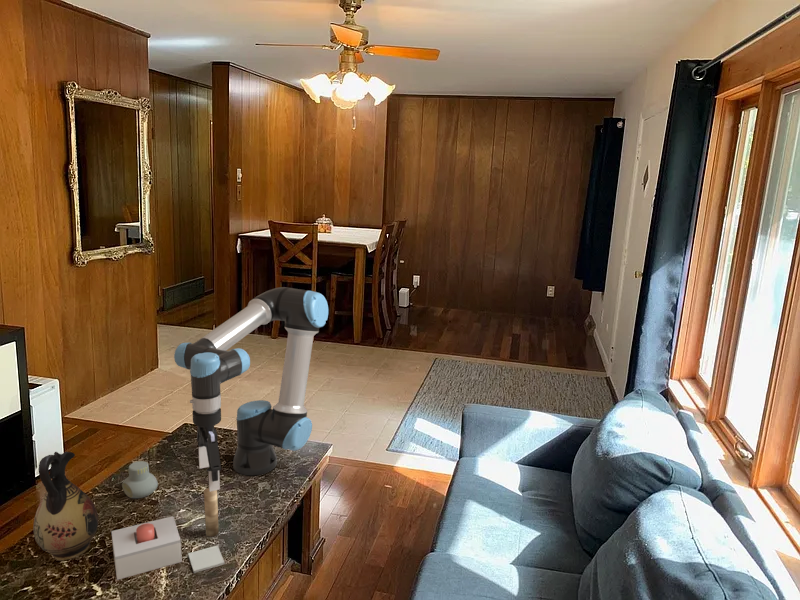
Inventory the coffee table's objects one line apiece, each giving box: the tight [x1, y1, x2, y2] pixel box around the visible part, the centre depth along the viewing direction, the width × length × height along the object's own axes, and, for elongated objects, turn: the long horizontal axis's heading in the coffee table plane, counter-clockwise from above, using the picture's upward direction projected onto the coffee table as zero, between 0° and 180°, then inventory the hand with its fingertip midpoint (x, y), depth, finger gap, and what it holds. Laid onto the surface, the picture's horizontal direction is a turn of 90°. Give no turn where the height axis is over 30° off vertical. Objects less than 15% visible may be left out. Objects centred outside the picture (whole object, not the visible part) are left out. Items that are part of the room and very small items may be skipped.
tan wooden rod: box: [203, 487, 220, 538], centre depth 173 cm, size 4×4×14 cm
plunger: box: [136, 522, 155, 544], centre depth 162 cm, size 4×4×5 cm
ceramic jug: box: [33, 451, 99, 562], centre depth 161 cm, size 17×15×30 cm
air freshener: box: [121, 460, 159, 499], centre depth 192 cm, size 11×8×10 cm
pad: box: [187, 544, 225, 574], centre depth 164 cm, size 8×8×1 cm
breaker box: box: [111, 516, 183, 581], centre depth 163 cm, size 16×12×7 cm
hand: (209, 478), depth 170 cm, fingers open, 13 cm apart
